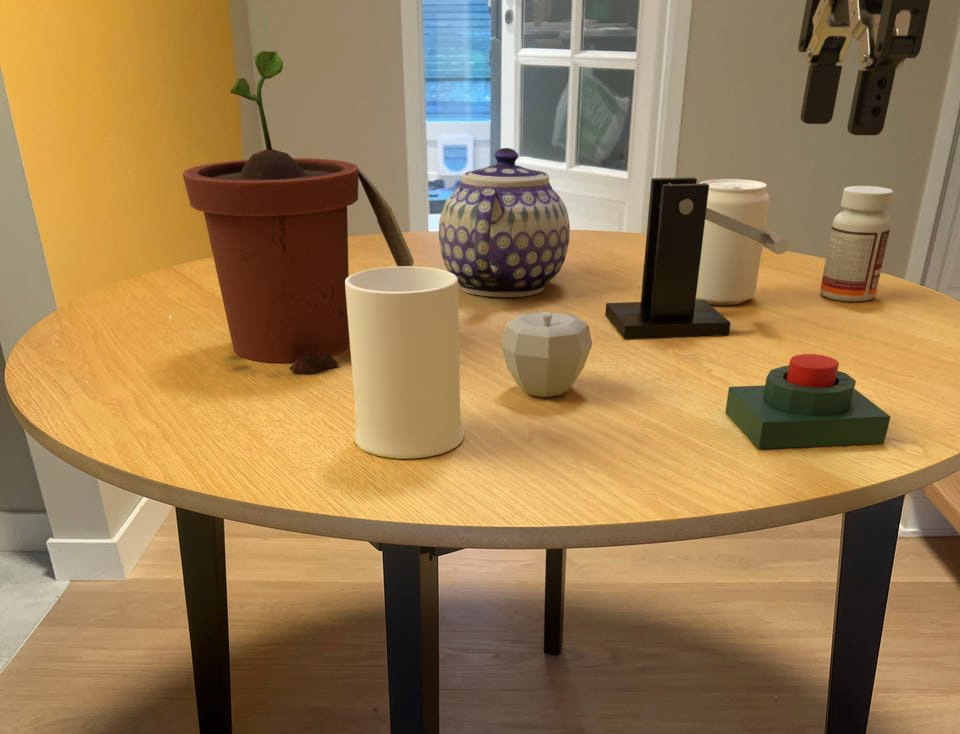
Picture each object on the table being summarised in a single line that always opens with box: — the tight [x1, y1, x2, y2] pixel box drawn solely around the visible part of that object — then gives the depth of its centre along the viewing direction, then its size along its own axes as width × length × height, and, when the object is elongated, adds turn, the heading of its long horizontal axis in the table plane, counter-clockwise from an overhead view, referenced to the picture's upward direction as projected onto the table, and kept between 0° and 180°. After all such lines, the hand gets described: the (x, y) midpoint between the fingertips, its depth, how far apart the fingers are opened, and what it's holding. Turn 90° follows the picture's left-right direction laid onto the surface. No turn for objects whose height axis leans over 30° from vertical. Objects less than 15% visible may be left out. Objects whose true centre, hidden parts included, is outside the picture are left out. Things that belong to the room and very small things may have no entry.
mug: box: [345, 265, 465, 460], centre depth 72 cm, size 12×8×12 cm
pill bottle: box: [820, 185, 894, 303], centre depth 106 cm, size 6×6×11 cm
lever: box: [658, 182, 789, 255], centre depth 94 cm, size 13×5×2 cm, turn 96°
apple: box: [499, 311, 593, 398], centre depth 81 cm, size 8×8×7 cm
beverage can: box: [696, 178, 770, 306], centre depth 105 cm, size 8×8×12 cm
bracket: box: [604, 176, 731, 340], centre depth 96 cm, size 11×9×14 cm
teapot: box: [438, 147, 571, 298], centre depth 109 cm, size 25×15×15 cm, turn 165°
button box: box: [724, 365, 891, 450], centre depth 74 cm, size 10×8×4 cm
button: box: [786, 353, 840, 388], centre depth 73 cm, size 4×4×2 cm
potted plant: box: [182, 50, 415, 374], centre depth 87 cm, size 18×22×25 cm
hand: (838, 128), depth 67 cm, fingers open, 8 cm apart
